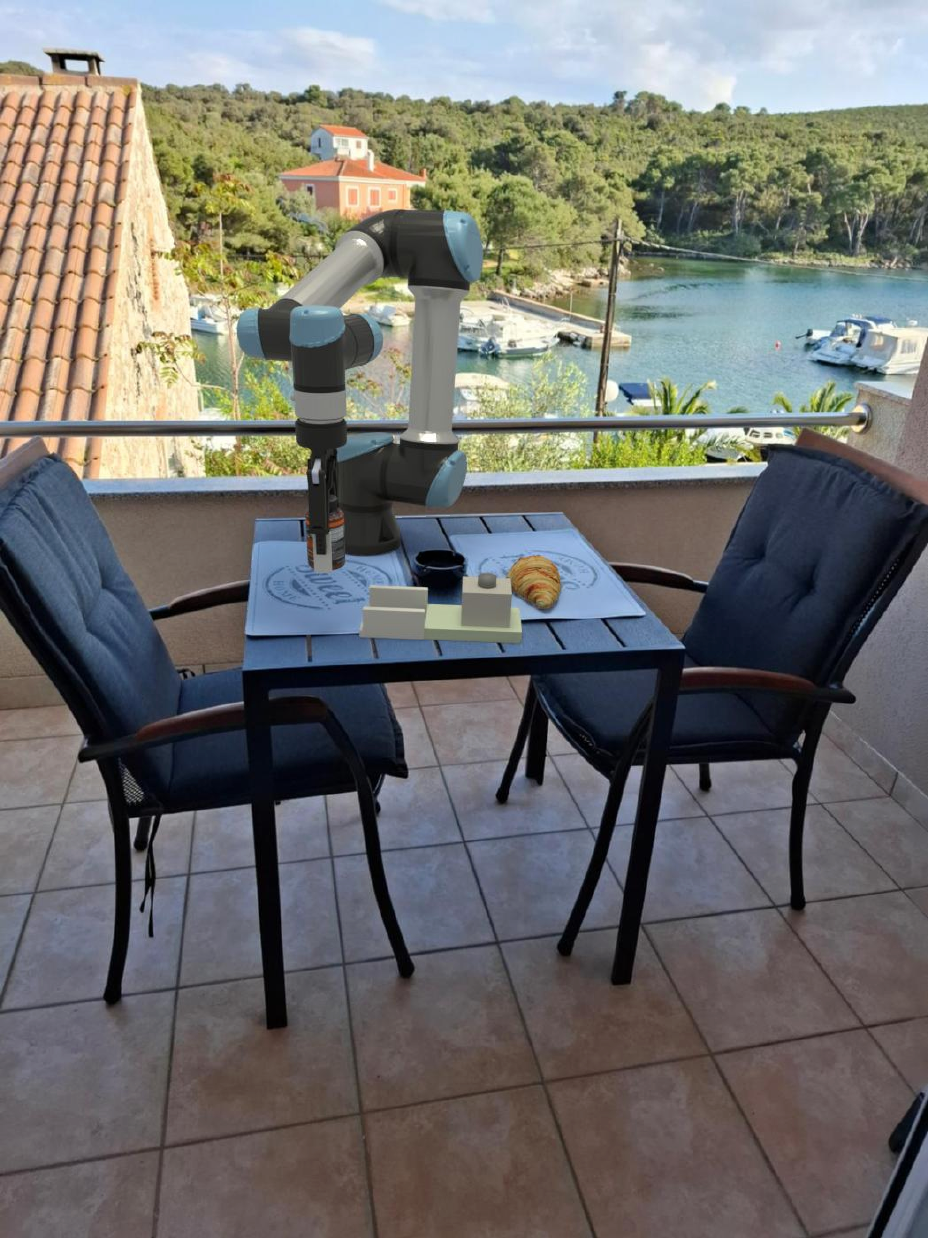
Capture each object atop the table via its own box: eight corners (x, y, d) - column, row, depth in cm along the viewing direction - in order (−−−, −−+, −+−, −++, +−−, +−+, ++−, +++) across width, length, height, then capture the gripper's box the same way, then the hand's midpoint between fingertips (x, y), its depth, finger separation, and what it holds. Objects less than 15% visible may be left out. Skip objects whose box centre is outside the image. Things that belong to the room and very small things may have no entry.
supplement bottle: (301, 563, 133) (297, 495, 128) (334, 555, 137) (331, 489, 132) (318, 575, 129) (315, 505, 124) (352, 567, 132) (350, 499, 127)
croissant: (560, 631, 150) (584, 594, 148) (513, 609, 147) (537, 571, 144) (532, 584, 169) (553, 551, 166) (491, 563, 165) (511, 529, 163)
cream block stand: (366, 611, 146) (366, 559, 142) (518, 617, 146) (522, 566, 142) (359, 637, 136) (358, 582, 132) (521, 643, 136) (525, 589, 132)
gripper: (307, 404, 131) (313, 542, 141) (281, 432, 114) (291, 586, 124) (354, 405, 131) (357, 543, 141) (336, 434, 114) (341, 588, 124)
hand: (326, 563), depth 133 cm, fingers closed on supplement bottle, 6 cm apart
